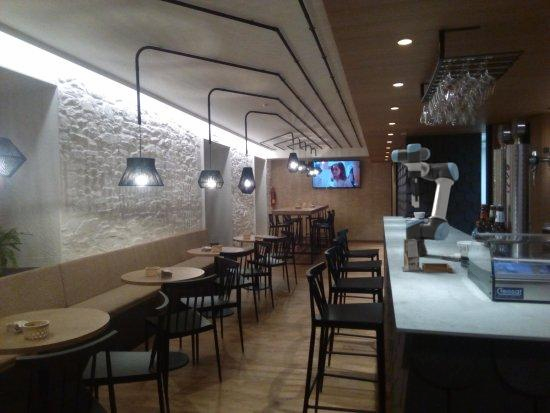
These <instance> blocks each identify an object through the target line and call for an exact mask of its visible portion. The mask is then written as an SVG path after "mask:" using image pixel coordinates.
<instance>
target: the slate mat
mask: <svg viewBox="0 0 550 413" xmlns="http://www.w3.org/2000/svg"><path fill="white" fill-rule="evenodd" d="M401 270H402V272H403V273H423V269H422V267H421V266H419V270H407V269H406V268H404V266H401Z"/></svg>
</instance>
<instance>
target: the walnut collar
mask: <svg viewBox="0 0 550 413" xmlns="http://www.w3.org/2000/svg"><path fill="white" fill-rule="evenodd" d="M421 270H422V272H424V273H428V274H429V273H431V274H432V273H433V274H435V273H436V274H444V273H445V274H453V268H452V266H451V265H450V263H449V262H446V263H445V262H444V263H443V262H442V263H441V262H440V263H439V262H436V263H435V262H434V263H433V262H432V263H431V262H428V263H427V262H422V263H421Z"/></svg>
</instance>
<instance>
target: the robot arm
mask: <svg viewBox="0 0 550 413" xmlns="http://www.w3.org/2000/svg"><path fill="white" fill-rule="evenodd" d="M406 147H407V148H403V149H402V148H401V149H394V150H393V151H392V152H391V160H392V161H393V162H395V163H399V162H400V163H402V165H404V166H405V167H407V170H408V171H407V178H411V179H410V186H411V188H410V189H411V206H413V208H420V198H419V197H420V189H419V186H420V185H419V178H423V179H424V180H428V181H431V182H434V181H435V183H436V188H435V195H434V199H433V205H432V210H431V216H430V217H428V219H427V221H425V219H414V220H408V221H406V223H405V239H416V240H418V241H419V257H425V256H426V257H427V256H428V255H429V252H428V250H427V246H426V244H425V241H436V242H439V241H441V242H442V241H445V240H446V239H447V238H448V236H449V234H450V224H449V223H448V220H447V218H446V216H447V210H448V204H449V198H450V192H451V188H452V186H454V183H455V181H458V180H459V168H458V166H457V164H456V163H454V162H445V163H444V162H443V163H442V162H441V163H440V162H439V163H427V162H422V161H427V160H428V159H429V158H430V156H431V151H430V149H428V148H426V147H422V145H421V144H420V143H410V144H408V145H407V146H406Z"/></svg>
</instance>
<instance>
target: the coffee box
mask: <svg viewBox="0 0 550 413" xmlns="http://www.w3.org/2000/svg"><path fill="white" fill-rule="evenodd" d="M403 267H404V268H406V269H407V270H419V267H420V256H419V241H418V240H416V239H406V238H405V239H403Z"/></svg>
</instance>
